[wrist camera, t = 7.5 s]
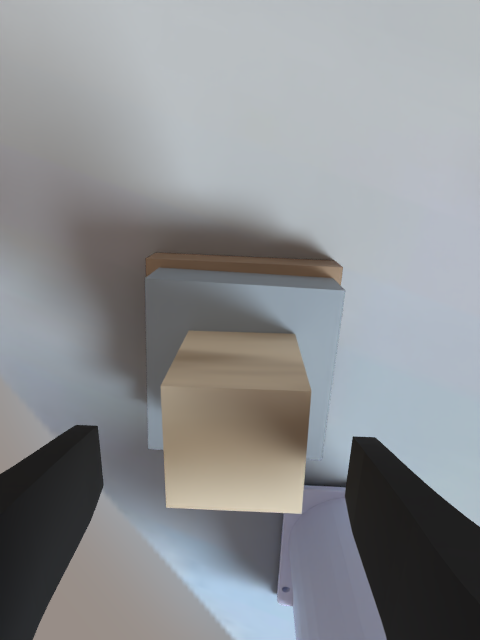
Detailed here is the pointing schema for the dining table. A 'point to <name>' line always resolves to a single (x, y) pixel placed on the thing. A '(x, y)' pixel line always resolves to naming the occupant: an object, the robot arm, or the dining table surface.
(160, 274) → the slate top block
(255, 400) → the birch block
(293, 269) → the walnut base block
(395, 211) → the dining table surface
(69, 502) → the robot arm
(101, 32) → the dining table surface
